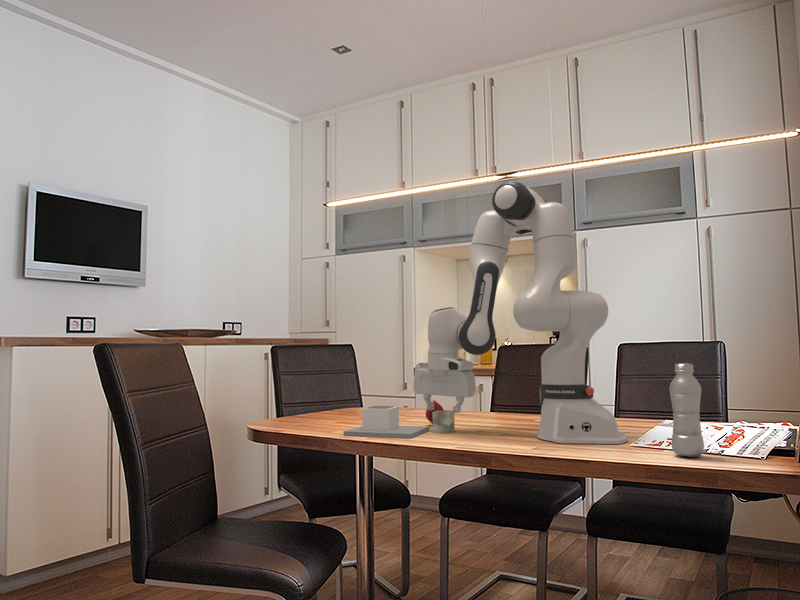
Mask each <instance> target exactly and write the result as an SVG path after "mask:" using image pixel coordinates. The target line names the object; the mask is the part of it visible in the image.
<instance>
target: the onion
mask: <svg viewBox="0 0 800 600" xmlns="http://www.w3.org/2000/svg"><path fill="white" fill-rule="evenodd" d="M432 404H434V410H427V409H425V410H426V411H425V417H426V420H427V421H428V422H429V423H431V425H433V414H432V412H435V411H438V410H439V411H445V410H444V407H443V406H442V404H440V403H439V402H438V401H437V400H435V399H433V400H432Z"/></svg>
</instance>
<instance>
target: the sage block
mask: <svg viewBox="0 0 800 600" xmlns="http://www.w3.org/2000/svg"><path fill="white" fill-rule="evenodd" d="M432 414H433V424H432V434H436V433H439V435H440V434H442V435H443V434H444V435H451V434H453V433H455V431H456V430H455V425H456V424H455V423H456V422H455V413H454V412H453V410H444V411H439V410H438V411H435V412H432Z"/></svg>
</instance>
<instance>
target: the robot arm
mask: <svg viewBox="0 0 800 600" xmlns="http://www.w3.org/2000/svg"><path fill="white" fill-rule="evenodd" d="M491 203H492V204H491V205H492V208H493V209H494V210H492V209H491V210H487V211H484V212H483V213H482V214H481V215H480V216H479V218H478V220H477V223H476V225H475V228H474V231H473V235H472V238H471V244H470V248H469V256H468V257H469V259H468V263H469V264H468V265H469V266H468V268H469V270H470V272H471V275H472V279H473V292H472V297H471V298H472V299H471V303H470V308H469V313H468V315H466V314H465V313H463V312H461V311H459V310H458V309H456V308H455V307H452V306H451V307H449V306H448V307H443V308H439V309H434V310H433V311H432V312H431V313H430V314H429V317H428V324H427V340H428V351H427V362H418V363H417V364H416V365H415V366H414V375H413V377H414V378H413V386H412V388H413V389H412V390H413V392H414V393H415V394H417V395H423V400H424V402H425V404H426V410H434V404H432V403H433V401H432V400H431V398H432V396H443V397H454V398H455V401H456V404H455V405H454V406H452V409H453V410H452V411H453V412H454V414H460V413H461V412H462V405H463V403H464V401H465V398H472V397H474V396H475V394H476V389H477V388H476V386H477V385H476V377H475V374H474V372H473V371H472V370H474V363H473V362H472V361H469V360H467V359H465V358H462V357H460V356H459V350H464V351H465V352H467V353H468V354H470V355H473V356H474V355H475V356H481V355H483V354H487V353H488V352H489V351H490V350H492V348H493V347H494V345H495V342H496V339H497V338H496V330H495V326H494V322H493V314H494V306H495V302H496V301H495V300H496V295H497V290H498V289H497V288H498V285H499V282H500V280H501V276H502V273H503V272H504V269H505V267H506V263H507V259H508V254H509V247H510V244H511V240H512V237H513V235H514V234H517V235H524V234H528V233H531V235H532V246H533V257H534V261H533V262H534V267H533V268H534V269H533V271H534V272H533V275H532V278H531V281H530V283H529V284H528V286H527V287H526V288H525V290H523V292H521V293H520V294H519V295H518V297H517V298H516V300H515V301H514V304H513V310H512V311H513V312H512V313H513V318H514V320H515V322H516V324H517V325H518V326H519V327H520V328H521V329H523V330H528V331H533V332H537V333H538V332H540V333H542V332H547V333H548V332H559V337H558V340H557V342H556V343H555V344H554V345H551V346H549V347H548V348H547V349H546V350H545V351H544V352H543V353H542V355H541V357H540V359H541V360H540V366H541V367H540V368H541V372H540V373H541V384H540V385H539V401H540V405H541V410H540V411H541V412H540V420H539V421H540V422H539V427H538V432H537V435H536V437H537V439H540V440H544V441H550V442H553V443H557V444H587V445H588V444H589V445H590V444H596V445H597V444H599V445H600V444H601V445H621V444H626V443H627V442H628V436H627V435H626V434H624V433H621V432H619V427H618V423H617V419H616V417H615V416H614V414H613V413H612V412H611V411H609V410H608V409H607V408H606V407H604V406H603V405H602V404H601V403H599V402H597V401H596V400H595V399H594V393H595V389H594V387H592V386H590V385H588V384H586V382H585V381H586V379H585V377H586V376H585V373H586V372H585V370H586V368H585V364H586V353H587V350H588V346H589V344H590V342H591V339H592V338H593V336H594V335H595V334H596V332H597V331H598V330H600V329H601V328H603V326H604V325H605V324H606V322H607V320H608V318H609V317H608V316H609V305H608V302H607V301H606V298H604V296H603V295H602V294H600V293H596V292H592V291H588V290H561V281H562V280H564V279H565V278H567V277H569V276H571V274H573V273H574V272H575V270H576V267H577V264H578V261H577V260H578V259H577V251H576V250H577V249H576V242H575V233H574V229H573V224H572V220H571V216H570V213H569V211H568V208H567V207H566V206H565V205H564V204H562V203H561V202H560V203H559V202H556V201H553V202H552V201H551V202H550V201H549V202H547V200H546V199H545V198H543V197H541V196H540V195H539V194H538V193H537V192H536V191H535V190H533V189H532V188H530V187H528V186H527V185H524V184H523V183H521V182H518V181H513V180H512V181H511V180H509V181H505V182H503V183H501V184H500V185H498V186H497V187H496V189H495V190H494V191H493V195H492V198H491Z"/></svg>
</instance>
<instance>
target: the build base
mask: <svg viewBox="0 0 800 600" xmlns="http://www.w3.org/2000/svg"><path fill="white" fill-rule="evenodd" d="M361 413H362V414H361V416H362V421H361V422H362V423H361V424H362V425H360V426H357V427H354V428H353V427H352V428H350V429H346V430H344V431H343V436H344V437H364V438H365V437H366V438H385V439H387V438H389V439H390V438H391V439H414V438H415V437H419V436H420V435H424V434H426V433H427V432H430V426H419V425H418V426H417V425H400V421H399V420H400V410H399V406H394V405H372V406H367V407H364V408H363V407H362V409H361Z"/></svg>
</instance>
